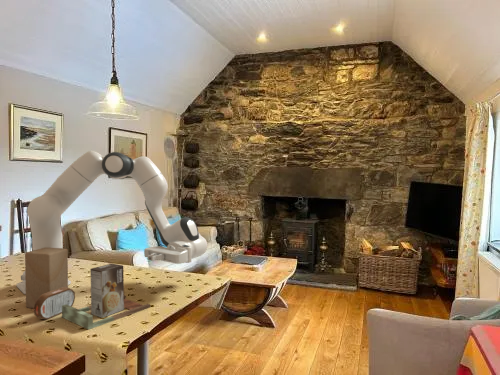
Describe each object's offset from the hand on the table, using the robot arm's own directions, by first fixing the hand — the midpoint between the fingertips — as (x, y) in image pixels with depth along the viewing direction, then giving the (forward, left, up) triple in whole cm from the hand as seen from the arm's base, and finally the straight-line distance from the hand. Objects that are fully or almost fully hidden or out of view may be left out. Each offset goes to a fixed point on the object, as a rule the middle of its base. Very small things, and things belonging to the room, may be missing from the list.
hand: (150, 258), depth 145 cm
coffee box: (0, -18, -16) cm, 24 cm away
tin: (-12, -30, -16) cm, 36 cm away
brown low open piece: (0, -18, -16) cm, 24 cm away
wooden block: (-24, -27, -16) cm, 40 cm away
